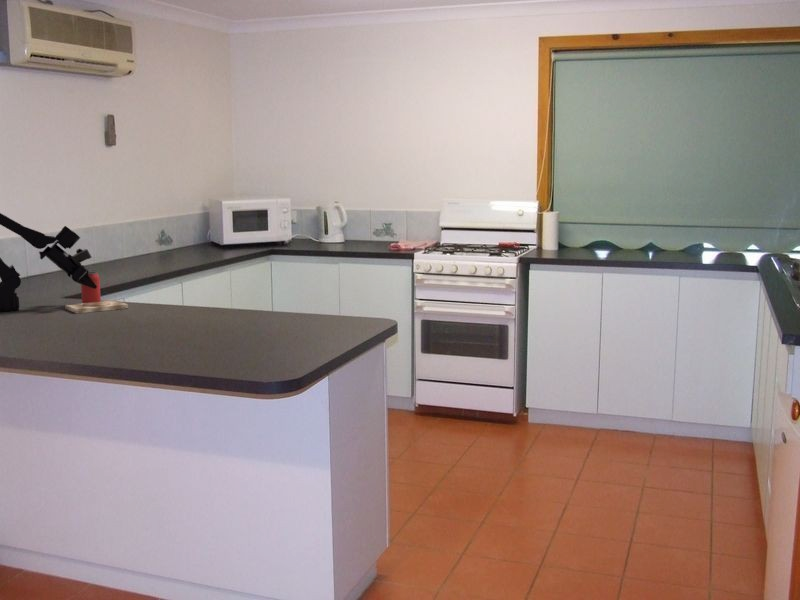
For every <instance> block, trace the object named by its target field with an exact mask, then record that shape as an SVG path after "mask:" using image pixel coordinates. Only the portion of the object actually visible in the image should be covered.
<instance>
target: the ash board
mask: <svg viewBox="0 0 800 600" xmlns="http://www.w3.org/2000/svg"><path fill="white" fill-rule="evenodd" d="M64 306H65V310H66V309H67V311H69V312H71V313H73V314H85V313H87V314H88V313H96V312H105V311H114V310H115V311H117V310H116V309H118V310H126V309H125V308H129V305H128V303H124V302H121V301H118V300H108V301H107V300H105V301H101V302H91V303H82V302H81V303H73V304H65V305H64Z"/></svg>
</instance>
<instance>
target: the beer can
mask: <svg viewBox="0 0 800 600" xmlns="http://www.w3.org/2000/svg"><path fill="white" fill-rule="evenodd" d="M88 276H89V277H90V278H91V280H92V281H93V282H94V283H95V285H96V286H97V288H96V289H94V288H91V287H88V286H85V285H83V284H80V289H81V292H80V293H81V304H82V303H91V302H102V299H101V298H102V297H101V282H100V281H101V280H100V275H99V273H98V271H88Z"/></svg>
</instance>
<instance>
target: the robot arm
mask: <svg viewBox="0 0 800 600" xmlns="http://www.w3.org/2000/svg"><path fill="white" fill-rule="evenodd" d="M0 226H2V227H4V228H6V229H8V230H9V231H11V232H13V233H15V234H16V235H18V236H19V237H21V238H22V239H23V240H25V241H26V242H28V244H30V245H31V246H32V247H33V248H34V249H39V250H41V249H44V250H42V251H38V253H39V259H40V260H44V259H45V257H46V258H47V259H48V260H50V261H51V262H52V263H53V264H54V265H55V266H56V267H58V268H59V269H60V270H62V271H63V272H64V273H65V275H66V276H68V277H69V278H70V279H72V281H74V283H77V284H80V285H81V284H83V285H85V286H88V287H91V288H94V289H96V288H97V286H96V285H95V283H94V282H93V281H92V280H91V278H90V277H89V276H88V272H89V269H88V268H87V267H86V266H85V265H83V264H82V262H85V261H87V260H90V259H91V258H92V256H91V253H90V251H89V249H87V248H84V249H82V248H78V249H76V251H75V252H76V253H75V254H73V255H71V254H70V253H68V252H66V251H65V250H66V249H69V250H71V249H72V247H73V246H75V245H76V243H77V242H79V240H80V239H81V236H79V235H78V234H77V233H76V232H75V231H73V230H71V228H69V227H67V225H64V226H63V227H62V228H61V230H60V231H59V232H58V233H57V234H56V235H55V236H54V235H46V234H45V233H44V232H41V231H39V230H36V229H32V228H30V227H27V226H24V225H22V224H21V223H19V222H17V221H15V220H14V219H12V218H10V217H9V216H7V215H5V214H3V213H1V212H0ZM49 245H51V246H49ZM64 249H65V250H64ZM20 277H21V274H20V272H18V271H17V270H16V269H15V267H14V265H13V264H11V265H10V266H8V264H7V263H5V262H4V261H3V259H2V258H1V257H0V280H1V282H0V313H3V312H13V311H20V298H19V296H18V295H17V292H16V289H18V288H19V287H20V286H21V285H22V284H21V283H22V281H21V278H20Z"/></svg>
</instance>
